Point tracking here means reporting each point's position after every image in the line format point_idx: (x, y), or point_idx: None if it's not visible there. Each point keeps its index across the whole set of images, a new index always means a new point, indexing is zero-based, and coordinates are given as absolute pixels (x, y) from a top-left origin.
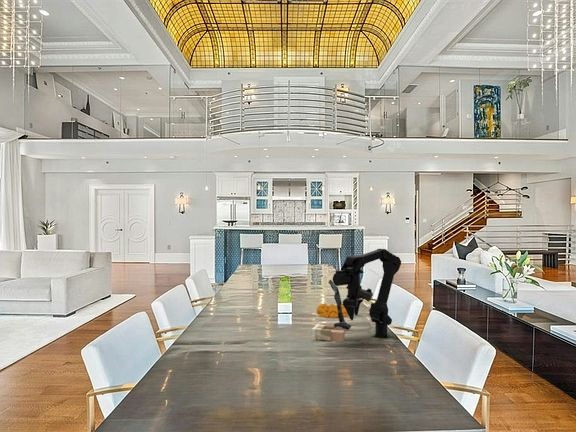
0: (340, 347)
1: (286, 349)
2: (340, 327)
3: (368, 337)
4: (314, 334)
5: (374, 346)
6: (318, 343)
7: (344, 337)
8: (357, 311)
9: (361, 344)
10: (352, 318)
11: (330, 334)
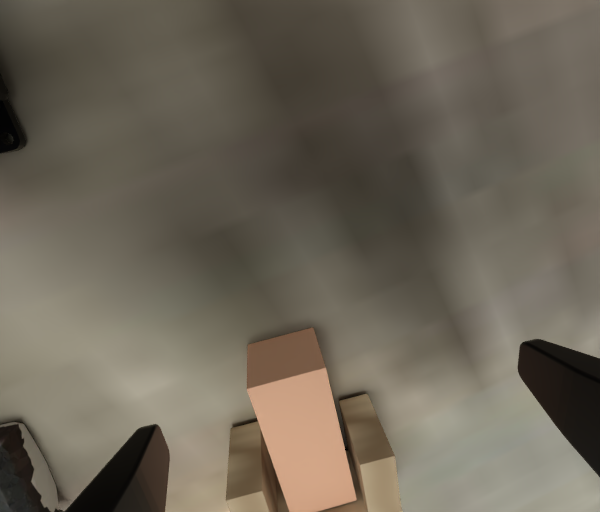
0: (466, 278)
1: (583, 479)
2: (37, 483)
3: (84, 191)
4: None
5: (331, 32)
6: (435, 420)
7: (257, 348)
8: (130, 501)
9: (329, 169)
10: (573, 361)
11: (365, 429)
